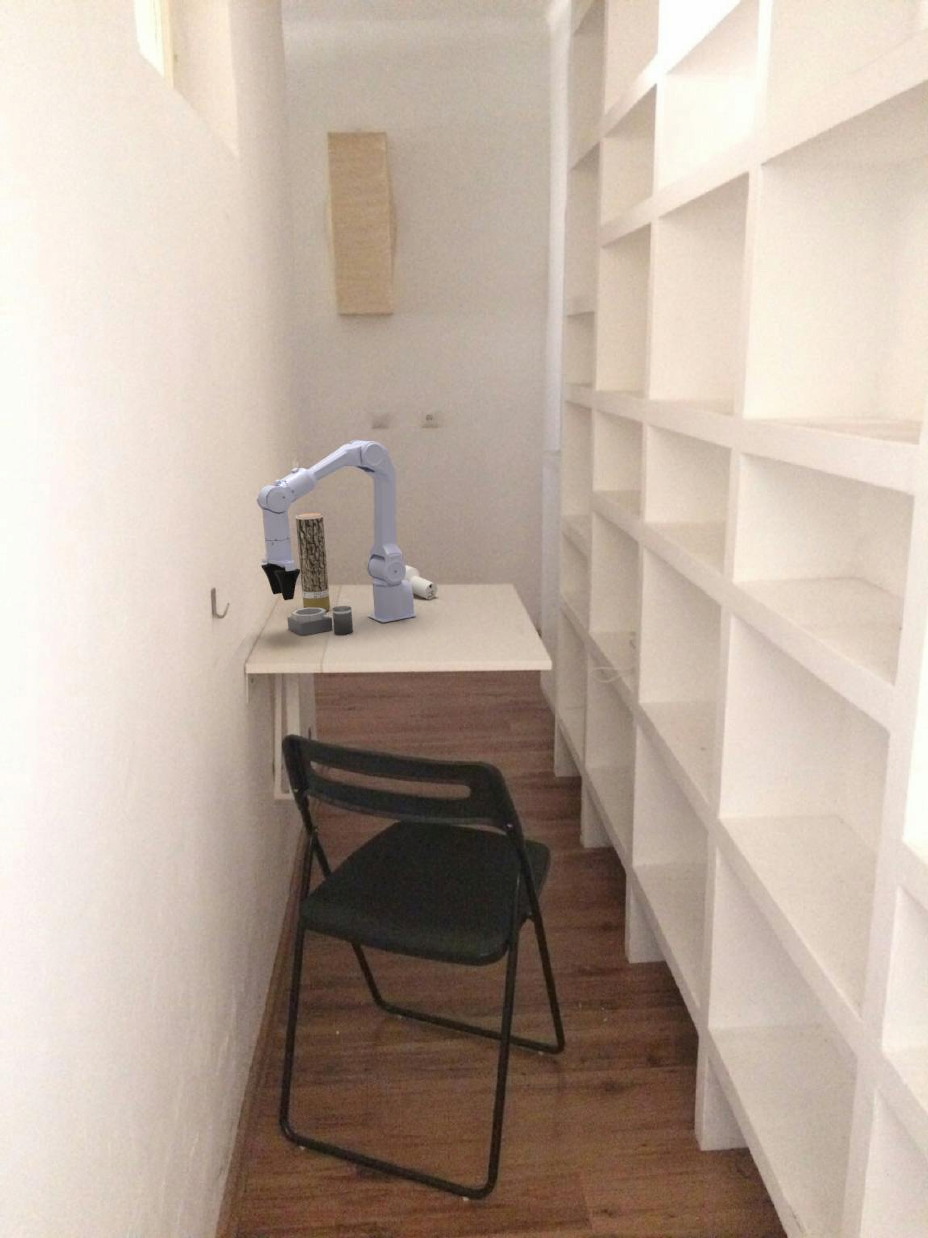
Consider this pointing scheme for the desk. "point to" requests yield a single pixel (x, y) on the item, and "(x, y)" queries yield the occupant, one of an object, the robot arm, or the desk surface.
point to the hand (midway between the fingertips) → (283, 596)
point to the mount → (309, 621)
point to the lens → (342, 620)
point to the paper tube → (313, 561)
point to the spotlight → (420, 583)
